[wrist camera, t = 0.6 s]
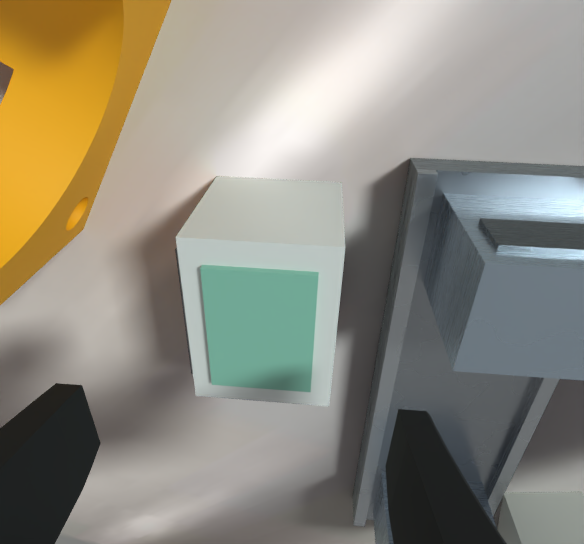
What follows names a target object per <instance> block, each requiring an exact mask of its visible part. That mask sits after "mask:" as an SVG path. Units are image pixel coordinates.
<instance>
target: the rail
mask: <svg viewBox="0 0 584 544" xmlns="http://www.w3.org/2000/svg"><path fill="white" fill-rule="evenodd" d="M560 379H569V380H582V381H584V166H566V165H545V164H524V163H503V162H482V161H462V160H441V159H420V158H410V164H409V170H408V176H407V182H406V187H405V193H404V199H403V205H402V211H401V217H400V222H399V228H398V234H397V240H396V246H395V252H394V257H393V263H392V269H391V275H390V281H389V287H388V293H387V298H386V304H385V310H384V316H383V322H382V328H381V333H380V339H379V345H378V351H377V357H376V363H375V368H374V374H373V380H372V386H371V392H370V398H369V404H368V409H367V415H366V421H365V427H364V433H363V439H362V444H361V450H360V456H359V462H358V468H357V474H356V480H355V485H354V491H353V497H352V499H353V522H354V526H365V522H366V519H368V520H374V530H375V542H376V544H394V543H393V537H392V531H391V525H390V519H389V511H388V498H387V483H386V467H385V466H386V462H387V457H388V453H389V448H390V444H391V439H392V435H393V431H394V426H395V422H396V417H397V413H398V409H405V410H418V411H427V412H428V413H429V415H430V416H431V418H432V420H433V422H434V424H435V426H436V428H437V430H438V431H439V433H440V435H441V437H442V439H443V441H444V443H445V444H446V446H447V448H448V450H449V452H450V453H451V455H452V457H453V459H454V460H455V462H456V464H457V466H458V467H459V469H460V471H461V473H462V474H463V476H464V478H465V479H466V481H467V483H468V484H469V486H470V488H471V489H472V491H473V492H474V494H475V496H476V497H477V499H478V500H479V502H480V504H481V505H482V507H483V508H484V510H485V511H486V513H487V515H488V516H489V518H490V519H491V521H492V522H493V524H494V526H495V527H496V524H495V521H494V518H493V516H494V514H495V512H496V510H497V508H498V506H499V503H500V501H501V499H502V497H503V495H504V493H505V491H506V489H507V487H508V485H509V483H510V481H511V479H512V477H513V475H514V472H515V470H516V468H517V466H518V464H519V462H520V460H521V458H522V456H523V454H524V452H525V450H526V448H527V446H528V444H529V442H530V439H531V437H532V435H533V433H534V431H535V429H536V427H537V425H538V423H539V421H540V419H541V417H542V415H543V413H544V411H545V408H546V406H547V404H548V402H549V400H550V398H551V396H552V394H553V392H554V390H555V388H556V386H557V384H558V382H559V380H560ZM496 529H497V527H496Z"/></svg>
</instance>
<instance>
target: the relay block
mask: <svg viewBox="0 0 584 544" xmlns="http://www.w3.org/2000/svg"><path fill="white" fill-rule="evenodd" d="M497 530H498V532H499V533H500V535H501V536H502V538H503V539H504V541H505V542H506V543H507V544H584V496H583V494H582V492H520V493H504V495H503V499H502V505H501V511H500V516H499V522H498V528H497Z"/></svg>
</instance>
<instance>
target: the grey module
mask: <svg viewBox="0 0 584 544" xmlns="http://www.w3.org/2000/svg"><path fill="white" fill-rule="evenodd" d="M176 245H177V248H176V249H175V251H176V258H177V266H178V274H179V281H180V289H181V297H182V304H183V312H184V320H185V327H186V335H187V343H188V350H189V358H190V366H191V373H192V374H193V378H194V385H195V393H196V396H204V397H217V398H229V399H242V400H255V401H267V402H280V403H293V404H305V405H318V406H329V403H330V393H331V383H332V374H333V364H334V354H335V344H336V335H337V325H338V315H339V305H340V296H341V286H342V276H343V266H344V257H345V231H344V213H343V196H342V182H326V181H306V180H287V179H267V178H248V177H228V176H217V177H216V178H215V180H214V181H213V183H212V184H211V186H210V187H209V188H208V190H207V191H206V193H205V194H204V196H203V197H202V199H201V200H200V202H199V203H198V205H197V206H196V208H195V209H194V211H193V212H192V214H191V215H190V217H189V218H188V220H187V221H186V222H185V224H184V225H183V227H182V228H181V230H180V231H179V233H178V234H177V236H176Z"/></svg>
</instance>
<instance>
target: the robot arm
mask: <svg viewBox="0 0 584 544" xmlns="http://www.w3.org/2000/svg"><path fill="white" fill-rule="evenodd" d="M99 446H100V440H99V437H98V434H97V431H96V428H95V425H94V422H93V418H92V415H91V412H90V409H89V406H88V403H87V400H86V396H85V393H84V390H83V387H82V385H70V384H57V383H56V384H55V385H54V386H52V387H51V388H50V389H49V390H47V391H46V392H45V393H44V394H42V395H41V396H40V397H39V398H37V399H36V400H35V401H34V402H32V403H31V404H30V405H29V406H27V407H26V408H25V409H24V410H22V411H21V412H20V413H19V414H18V415H16V416H15V417H14V418H13V419H11V420H10V421H9V422H8V423H7V424H5V425H4V426H3V427H2V428H0V544H55V542H56V540H57V538H58V536H59V534H60V532H61V531H62V529H63V527H64V525H65V523H66V521H67V519H68V517H69V515H70V513H71V511H72V509H73V507H74V505H75V503H76V501H77V500H78V498H79V496H80V494H81V492H82V490H83V488H84V485H85V482H86V480H87V477H88V475H89V472H90V470H91V467H92V465H93V462H94V459H95V456H96V454H97V451H98V448H99ZM385 467H386V483H387V498H388V511H389V519H390V525H391V531H392V537H393V543H394V544H507V543H506V542H505V541H504V539H503V538H502V536H501V535H500V533H499V532H498V530H497V529H496V527H495V526H494V524H493V522H492V521H491V519H490V518H489V516H488V515H487V513H486V511H485V510H484V508H483V507H482V505H481V504H480V502H479V500H478V499H477V497H476V496H475V494H474V492H473V491H472V489H471V488H470V486H469V484H468V483H467V481H466V479H465V478H464V476H463V474H462V473H461V471H460V469H459V467H458V466H457V464H456V462H455V460H454V459H453V457H452V455H451V453H450V452H449V450H448V448H447V446H446V444H445V443H444V441H443V439H442V437H441V435H440V433H439V431H438V430H437V428H436V426H435V424H434V422H433V420H432V418H431V416H430V415H429V413H428V412H427V411H418V410H405V409H398V413H397V417H396V422H395V426H394V431H393V435H392V439H391V444H390V448H389V453H388V457H387V462H386V466H385Z"/></svg>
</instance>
